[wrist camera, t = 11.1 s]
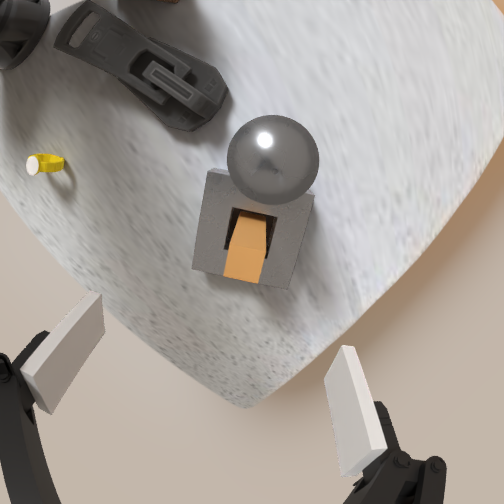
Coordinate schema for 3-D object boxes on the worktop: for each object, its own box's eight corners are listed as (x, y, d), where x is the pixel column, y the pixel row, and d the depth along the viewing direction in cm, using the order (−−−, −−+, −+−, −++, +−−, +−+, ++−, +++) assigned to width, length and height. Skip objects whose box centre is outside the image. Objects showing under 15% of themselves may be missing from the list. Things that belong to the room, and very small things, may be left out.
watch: (71, 154, 34) (48, 160, 28) (68, 172, 35) (45, 180, 29) (44, 147, 33) (20, 152, 27) (41, 164, 34) (18, 171, 28)
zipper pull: (87, -6, 19) (233, 75, 24) (109, 9, 25) (239, 87, 30) (46, 48, 21) (177, 142, 27) (73, 56, 28) (193, 142, 33)
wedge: (240, 210, 36) (229, 243, 25) (265, 216, 36) (266, 251, 25) (235, 234, 37) (223, 276, 26) (260, 239, 37) (257, 283, 26)
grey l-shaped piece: (223, 121, 32) (171, 97, 13) (321, 143, 32) (388, 149, 14) (198, 256, 38) (146, 356, 20) (285, 275, 39) (299, 388, 20)
